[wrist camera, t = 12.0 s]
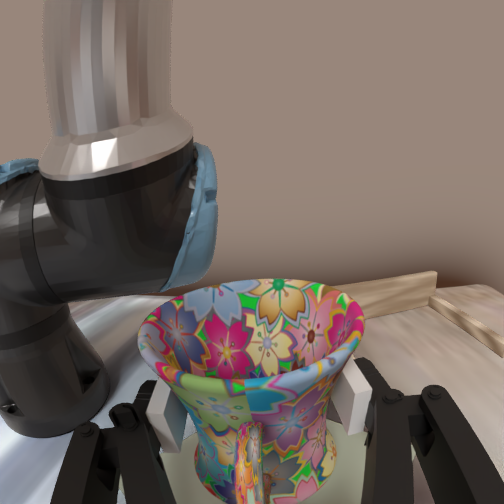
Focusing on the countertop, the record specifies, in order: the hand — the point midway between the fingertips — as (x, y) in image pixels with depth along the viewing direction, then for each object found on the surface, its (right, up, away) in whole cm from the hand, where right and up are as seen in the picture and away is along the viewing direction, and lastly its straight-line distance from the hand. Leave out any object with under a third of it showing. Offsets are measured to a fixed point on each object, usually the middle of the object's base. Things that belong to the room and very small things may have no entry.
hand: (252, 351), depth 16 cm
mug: (+1, -8, -3) cm, 8 cm away
